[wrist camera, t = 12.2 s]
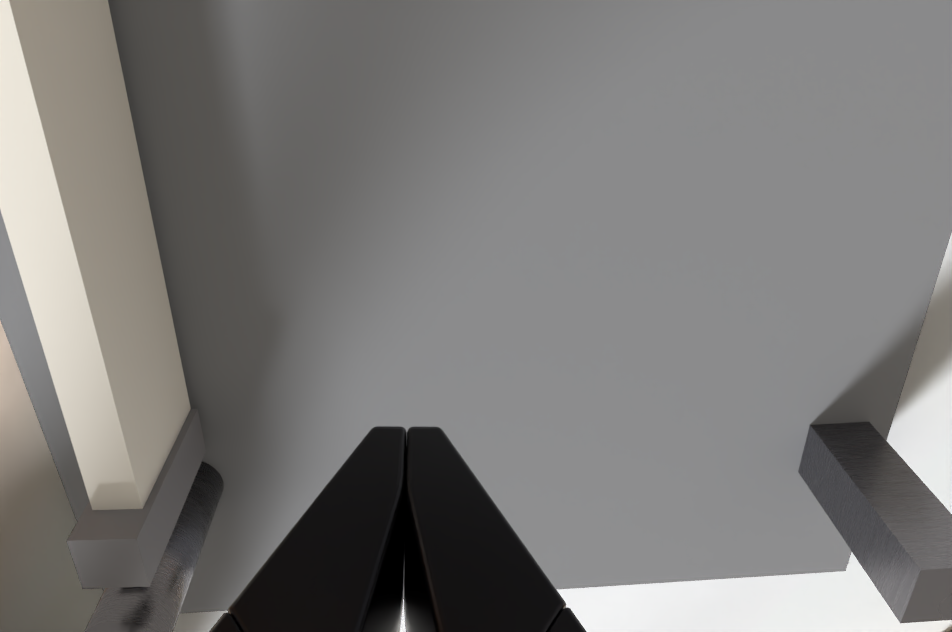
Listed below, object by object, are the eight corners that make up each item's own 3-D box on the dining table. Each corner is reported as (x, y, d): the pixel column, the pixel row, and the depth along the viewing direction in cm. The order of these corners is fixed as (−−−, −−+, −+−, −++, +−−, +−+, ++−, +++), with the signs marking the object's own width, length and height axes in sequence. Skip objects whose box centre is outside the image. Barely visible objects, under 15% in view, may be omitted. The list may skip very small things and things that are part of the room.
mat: (117, 608, 26) (113, 617, 26) (-226, -313, 14) (-243, -319, 14) (840, 562, 28) (845, 570, 27) (1111, -324, 15) (1127, -330, 15)
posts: (85, 504, 24) (-20, 684, 18) (-80, 55, 17) (-327, 121, 12) (849, 461, 25) (972, 617, 20) (974, 23, 18) (1220, 69, 13)
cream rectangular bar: (209, 450, 22) (154, 586, 18) (149, 452, 22) (78, 588, 18) (69, -270, 14) (-104, -363, 9) (-29, -274, 14) (-250, -369, 9)
